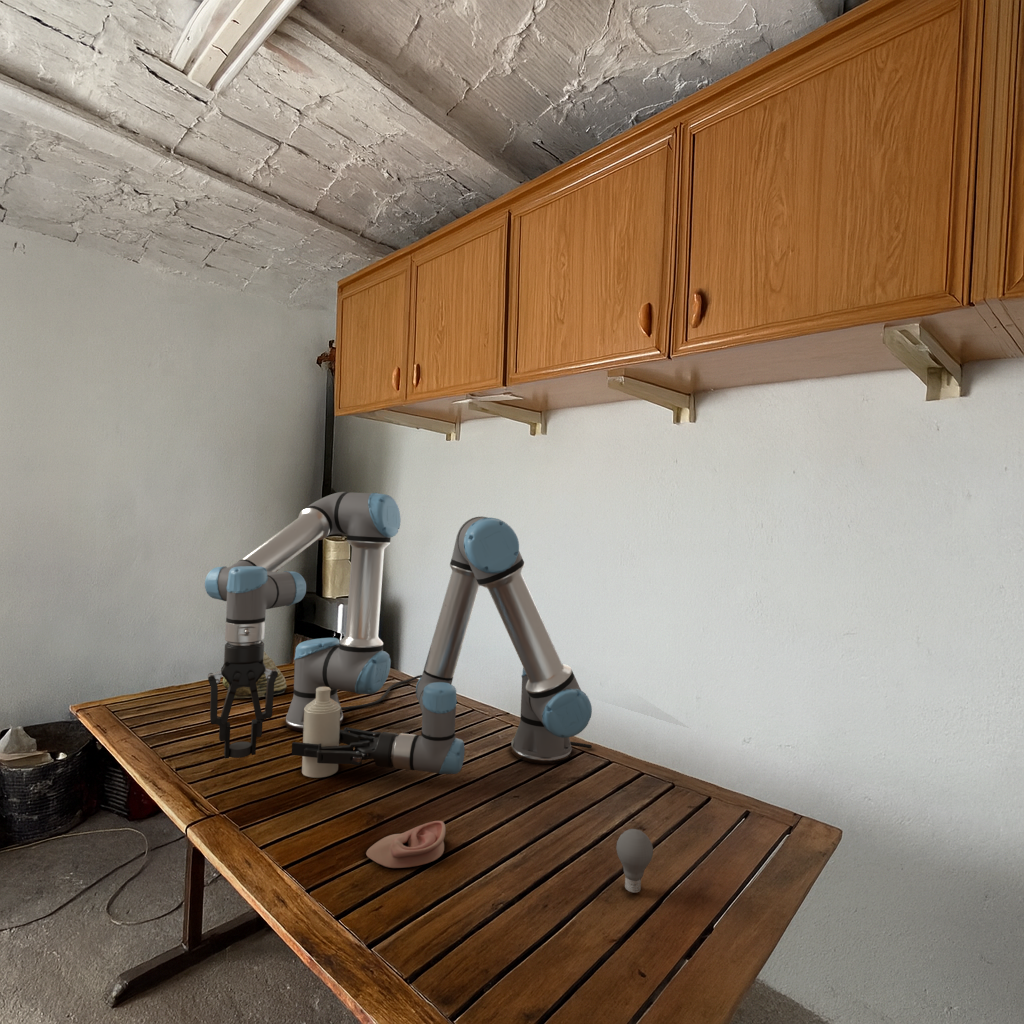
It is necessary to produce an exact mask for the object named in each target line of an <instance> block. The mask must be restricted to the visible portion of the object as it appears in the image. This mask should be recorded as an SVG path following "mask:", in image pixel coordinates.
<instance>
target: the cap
mask: <svg viewBox="0 0 1024 1024" xmlns="http://www.w3.org/2000/svg"><path fill="white" fill-rule="evenodd" d="M251 749H252V744H251V741H250V742H249V741H237V742H236V741H235V742H233V743H230V747H229V758H232V759H240V758H246V757H248V756H250V755H252V754H251Z"/></svg>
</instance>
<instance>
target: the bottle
mask: <svg viewBox="0 0 1024 1024" xmlns="http://www.w3.org/2000/svg"><path fill="white" fill-rule="evenodd" d="M330 691H331V689H330V688H329V687H318V688H316V699H314V700H313V701H311V702H310V703H309V704H307V705H306V707H305V708H304V723H303V732H302V743H309V744H321V747H326V746H340V744H339V737H340V730H341V724H340V711H341V707H342V706H341V704H340V705H339V703H337V702H336V701H334V700H333V699H331V698H330ZM338 771H339V764H327V763H317V758H315V757H306V756H301V773H302V775H303V776H305V777H308V778H314V779H315V778H316V779H318V778H326V777H330V776H333V775H334V774H337V772H338Z"/></svg>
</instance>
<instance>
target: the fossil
mask: <svg viewBox="0 0 1024 1024" xmlns="http://www.w3.org/2000/svg"><path fill="white" fill-rule="evenodd" d="M263 662H264V665H265V667H266V668H269V669H273V668H274V669H276V670H277V672H278V675H277V678H276V680H275V682H274V696H275V695H281V694H284V693H285V691H286V689H287V687H288V686H287V680H286V678H285V676H284V674H283V673H282V672H281V669H279V668H278V667H277V665H276V663H275V662H274V660H273V659H272V658H271V657H270V656H269V655H268V654H267V653H266V652H265V651H264V659H263ZM222 685H223V687H224V688H225V690H226V691H228V687H229V683H228V682H227V680H226V679H225V678H224V677H223V676H222ZM256 686H257V692H258V697H259V698H264V697H265V698H266V686H267V679H266V677H265V673H263V675H262V676H261V677H260V679H259V680H258V681H257V682H256ZM250 698H251V699H252V696H251V691H250V687H241V688H237V690H236V693H235V696H234V699H250Z"/></svg>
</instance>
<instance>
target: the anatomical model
mask: <svg viewBox="0 0 1024 1024" xmlns="http://www.w3.org/2000/svg"><path fill="white" fill-rule="evenodd" d="M446 830H447V829H446V824H445V822H444V821H443V820H434V821H429V822H426V823H423V824H420V825H417V826H416V827H413V828H411V829H408V830H406V831H404V832H402V833H394V834H389V835H387V836H384V837H383V838H381V839H379V840H378V841H376V842H375V843H374V844H372V845H371V846H370V847H369V848H367V850H366V851H365V854H366V855H365V856H367V858H369V860H370V861H371V860H372V861H373V862H375V863H377V864H378V865H381V866H383V867H385V868H390V869H403V868H412V867H418V866H422V865H426V864H429V863H431V862H434V861H436V860H438V859H439V858H440V857H442V856H443V854H444V851H445V842H444V839H445V837H446V833H447V832H446Z"/></svg>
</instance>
